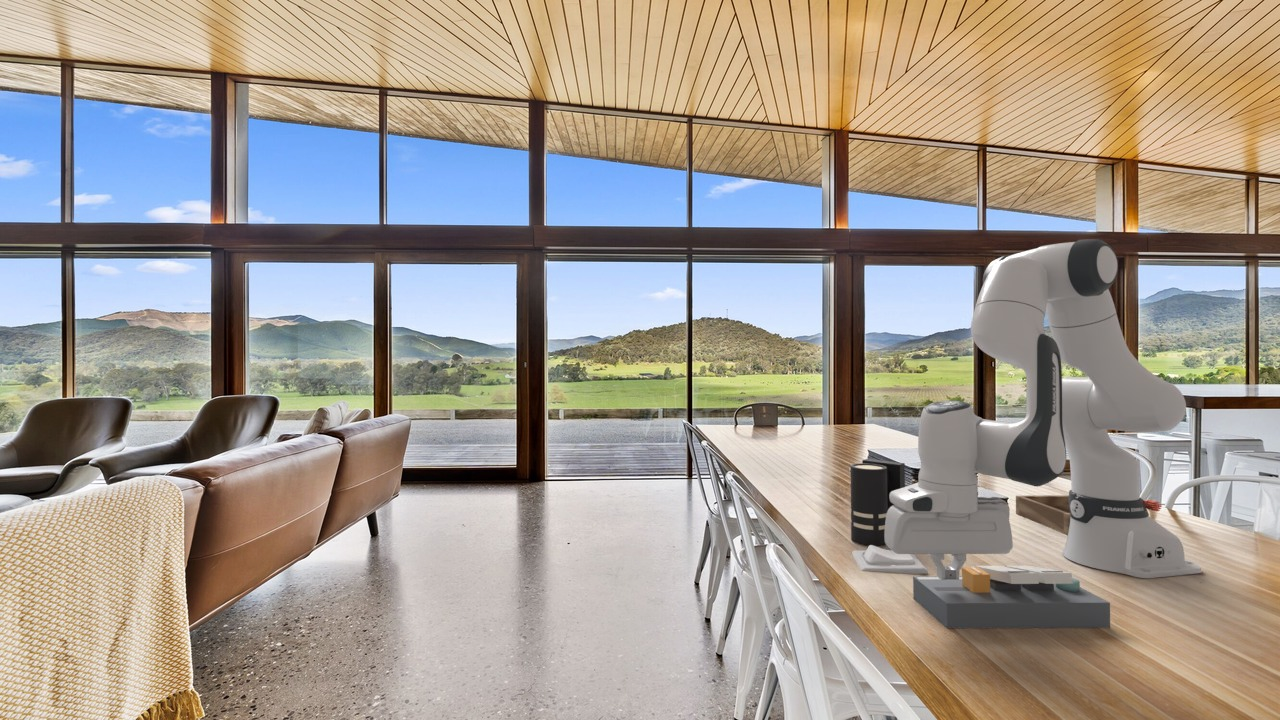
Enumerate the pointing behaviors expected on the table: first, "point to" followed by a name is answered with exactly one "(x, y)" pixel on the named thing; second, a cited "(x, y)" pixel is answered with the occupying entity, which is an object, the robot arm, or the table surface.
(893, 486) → the light fixture
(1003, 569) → the panel
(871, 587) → the table surface
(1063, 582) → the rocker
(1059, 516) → the frame
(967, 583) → the slider knob
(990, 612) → the panel
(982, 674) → the table surface
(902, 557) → the light switch
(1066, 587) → the button
